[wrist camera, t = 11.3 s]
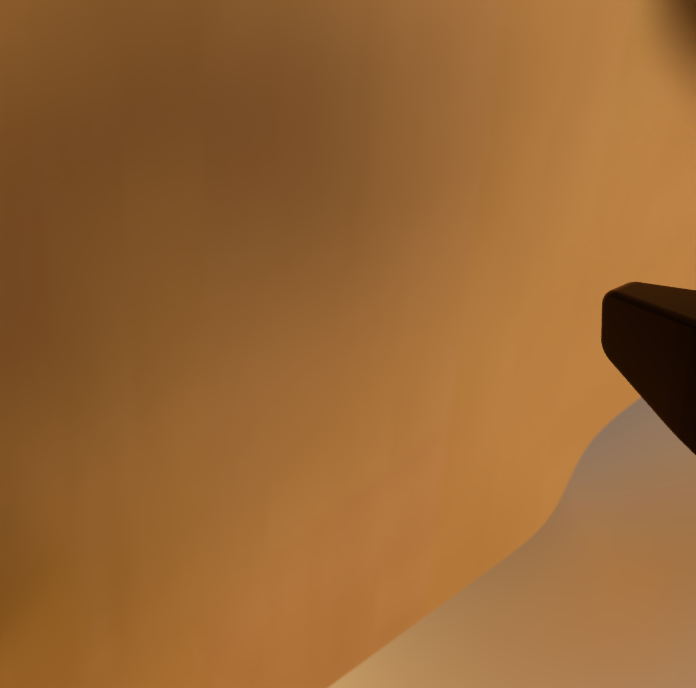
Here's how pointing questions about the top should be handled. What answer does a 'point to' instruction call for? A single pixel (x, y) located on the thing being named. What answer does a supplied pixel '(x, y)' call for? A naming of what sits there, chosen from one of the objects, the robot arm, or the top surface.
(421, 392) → the top surface
